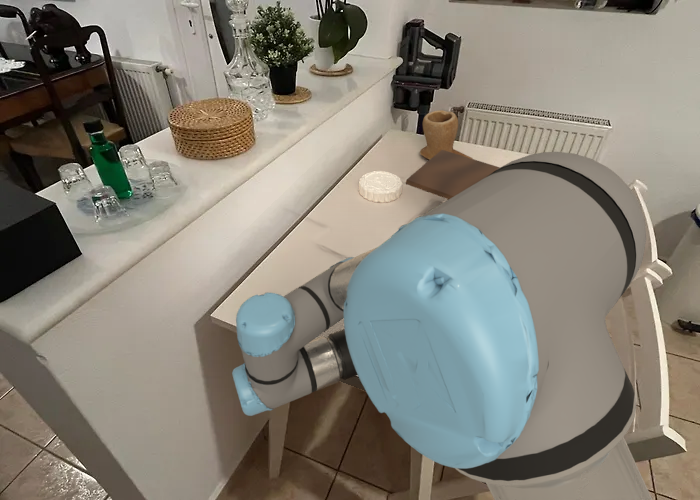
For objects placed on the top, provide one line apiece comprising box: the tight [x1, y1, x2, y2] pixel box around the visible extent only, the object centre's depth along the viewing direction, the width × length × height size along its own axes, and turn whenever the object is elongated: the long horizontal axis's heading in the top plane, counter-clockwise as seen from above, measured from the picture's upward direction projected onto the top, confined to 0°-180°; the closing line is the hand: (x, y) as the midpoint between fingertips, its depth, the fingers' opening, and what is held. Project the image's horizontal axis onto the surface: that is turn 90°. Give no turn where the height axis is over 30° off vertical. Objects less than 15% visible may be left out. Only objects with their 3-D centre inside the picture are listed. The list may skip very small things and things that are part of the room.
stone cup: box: [419, 109, 474, 161], centre depth 128 cm, size 15×12×15 cm
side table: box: [405, 150, 501, 200], centre depth 102 cm, size 18×18×15 cm
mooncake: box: [358, 170, 403, 204], centre depth 118 cm, size 12×12×4 cm
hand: (445, 316), depth 75 cm, fingers open, 13 cm apart
